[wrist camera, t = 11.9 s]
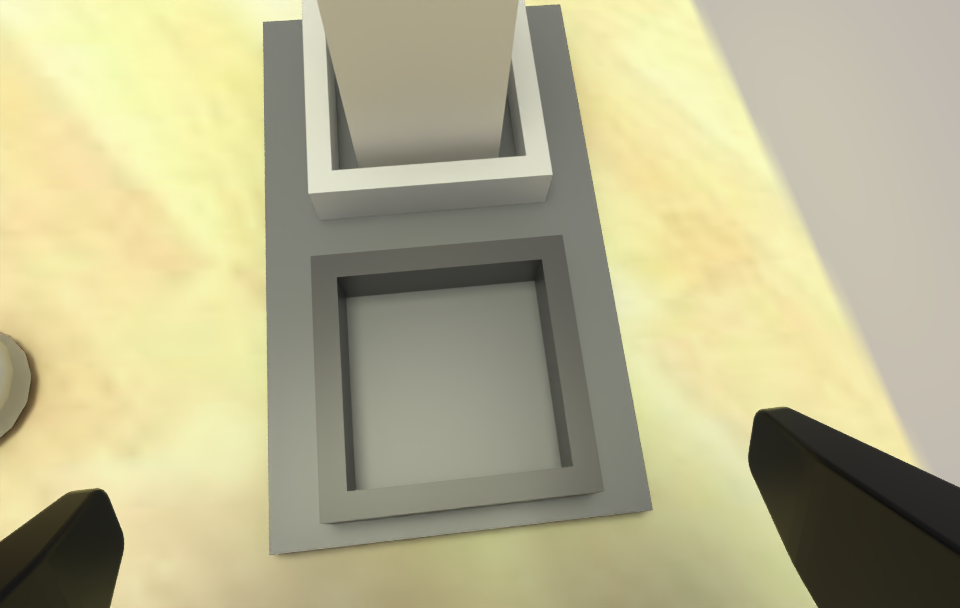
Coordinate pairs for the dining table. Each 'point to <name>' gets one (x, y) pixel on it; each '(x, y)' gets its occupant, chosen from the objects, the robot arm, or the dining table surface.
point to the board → (438, 316)
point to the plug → (421, 76)
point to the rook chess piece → (12, 382)
